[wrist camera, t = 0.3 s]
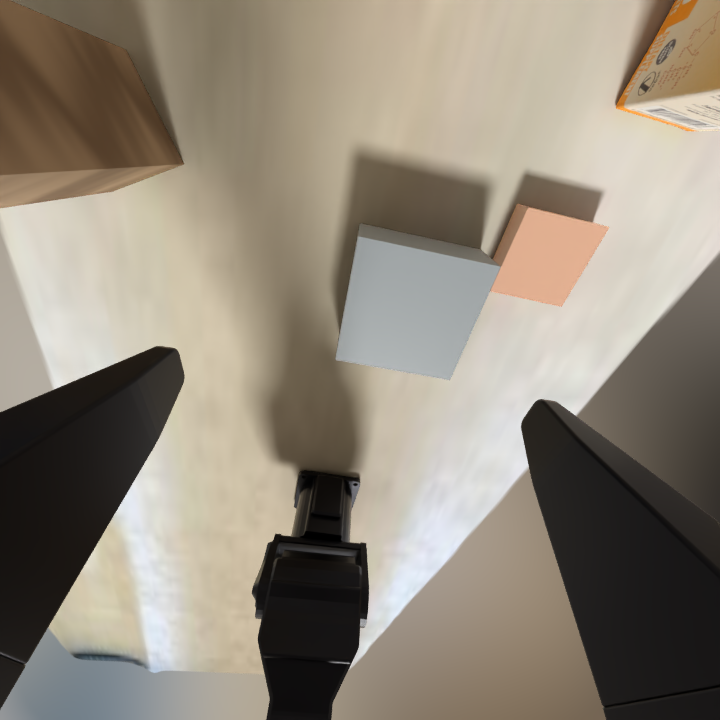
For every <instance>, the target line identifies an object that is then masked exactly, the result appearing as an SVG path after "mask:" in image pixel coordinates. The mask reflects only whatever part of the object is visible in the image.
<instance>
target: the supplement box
mask: <svg viewBox="0 0 720 720" xmlns="http://www.w3.org/2000/svg"><path fill="white" fill-rule="evenodd" d="M616 108H617V109H620V110H623V111H627V112H630V113H633V114H636V115H640V116H643V117H647V118H650V119H653V120H657V121H660V122H663V123H666V124H670V125H672V126H676V127H678V128H681V129H684V130H686V131H718V130H720V0H676V1H675V2H674V4H673V6H672V8H671V10H670V12H669V13H668V15H667V17H666V19H665V21H664V23H663V24H662V26H661V28H660V30H659V32H658V33H657V35H656V37H655V39H654V41H653V42H652V44H651V45H650V47H649V49H648V51H647V53H646V54H645V56H644V57H643V59H642V61H641V63H640V65H639V66H638V68H637V69H636V71H635V73H634V75H633V76H632V78H631V80H630V82H629V83H628V85H627V87H626V88H625V90H624V92H623V94H622V96H621V98H620V99H619V101H618V103H617V105H616Z"/></svg>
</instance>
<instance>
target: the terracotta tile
mask: <svg viewBox="0 0 720 720" xmlns="http://www.w3.org/2000/svg"><path fill="white" fill-rule="evenodd" d="M608 229H609V227H607V226H604V225H600V224H597V223H594V222H590V221H586V220H581V219H577V218H573V217H569V216H565V215H561V214H557V213H553V212H549V211H545V210H541V209H536V208H532V207H528V206H524V205H520V204H517V205H516V207H515V209H514V212H513V214H512V216H511V218H510V221H509V223H508V225H507V228H506V230H505V232H504V234H503V237H502V239H501V241H500V244H499V246H498V248H497V251H496V253H495V255H494V257H493V260H494V261H495V262H496V263H497V264H498V265H499V266H501V267H500V270H499V272H498V274H497V276H496V279H495V281H494V283H493V285H492V287H491V290H490V291H491V292H496V293H501V294H505V295H510V296H515V297H519V298H524V299H528V300H533V301H538V302H542V303H547V304H552V305H556V306H561V307H562V305H563V303H564V302H565V300H566V298H567V297H568V295H569V294H570V292H571V290H572V289H573V287H574V285H575V284H576V282H577V280H578V279H579V277H580V275H581V274H582V272H583V270H584V269H585V267H586V265H587V264H588V262H589V260H590V259H591V257H592V255H593V254H594V252H595V250H596V249H597V247H598V245H599V244H600V242H601V241H602V239H603V237H604V236H605V234H606V232H607V231H608Z"/></svg>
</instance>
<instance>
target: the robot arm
mask: <svg viewBox="0 0 720 720" xmlns="http://www.w3.org/2000/svg"><path fill="white" fill-rule="evenodd" d="M183 383H184V371H183V367H182V363H181V359H180V355H179V352H178V351H177V349H175V348H171V347H164V346H156V347H154V348H151V349H149V350H147V351H144V352H142V353H139V354H137V355H135V356H132V357H130V358H128V359H125V360H123V361H121V362H118V363H116V364H113V365H111V366H109V367H106V368H104V369H102V370H99V371H97V372H95V373H92V374H90V375H87V376H85V377H83V378H80V379H78V380H76V381H73V382H71V383H69V384H66V385H64V386H61V387H59V388H57V389H54V390H52V391H50V392H47V393H45V394H43V395H40V396H38V397H35V398H33V399H31V400H28V401H26V402H24V403H21V404H19V405H17V406H15V407H12V408H9V409H7V410H5V411H3V412H0V709H1V707H2V706H3V704H4V702H5V700H6V699H7V697H8V695H9V694H10V692H11V690H12V688H13V687H14V685H15V683H16V682H17V680H18V678H19V677H20V675H21V673H22V671H23V670H24V668H25V664H26V663H27V662H28V661H29V659H30V657H31V655H32V654H33V652H34V650H35V649H36V647H37V645H38V644H39V642H40V640H41V638H42V637H43V635H44V633H45V632H46V630H47V628H48V627H49V625H50V623H51V621H52V620H53V618H54V616H55V615H56V613H57V611H58V610H59V608H60V606H61V604H62V603H63V601H64V599H65V598H66V596H67V594H68V592H69V591H70V589H71V587H72V586H73V584H74V582H75V581H76V579H77V577H78V575H79V574H80V572H81V570H82V569H83V567H84V565H85V564H86V562H87V560H88V558H89V557H90V555H91V553H92V552H93V550H94V548H95V546H96V545H97V543H98V541H99V540H100V538H101V536H102V535H103V533H104V531H105V529H106V528H107V526H108V524H109V523H110V521H111V519H112V518H113V516H114V514H115V512H116V511H117V509H118V507H119V506H120V504H121V502H122V501H123V499H124V497H125V495H126V494H127V492H128V490H129V489H130V487H131V485H132V483H133V482H134V480H135V478H136V477H137V475H138V473H139V472H140V470H141V468H142V466H143V465H144V463H145V461H146V460H147V458H148V456H149V455H150V453H151V451H152V449H153V448H154V446H155V444H156V442H157V441H158V439H159V437H160V435H161V433H162V431H163V428H164V426H165V424H166V422H167V419H168V417H169V415H170V413H171V410H172V408H173V406H174V403H175V401H176V399H177V397H178V394H179V392H180V390H181V388H182V385H183ZM521 430H522V435H523V440H524V445H525V450H526V455H527V459H528V464H529V469H530V474H531V479H532V483H533V486H534V490H535V493H536V497H537V499H538V503H539V506H540V509H541V512H542V516H543V519H544V522H545V525H546V528H547V531H548V535H549V538H550V541H551V544H552V547H553V550H554V554H555V557H556V560H557V563H558V566H559V570H560V573H561V576H562V579H563V582H564V586H565V589H566V592H567V595H568V598H569V601H570V605H571V608H572V611H573V614H574V617H575V621H576V623H577V627H578V630H579V633H580V636H581V640H582V642H583V646H584V649H585V652H586V655H587V659H588V662H589V665H590V668H591V671H592V675H593V677H594V681H595V684H596V687H597V690H598V694H599V697H600V700H601V703H602V705H603V706H604V707H603V710H604V713H605V717H606V720H720V524H719V523H718V521H717V520H715V519H714V518H713V517H711V516H710V515H709V514H707V513H706V512H704V511H703V510H702V509H700V508H699V507H698V506H697V505H695V504H694V503H693V502H691V501H690V500H688V499H687V498H686V497H684V496H683V495H682V494H680V493H679V492H678V491H676V490H675V489H674V488H672V487H671V486H670V485H668V484H667V483H666V482H664V481H663V480H661V479H660V478H659V477H657V476H656V475H655V474H653V473H652V472H651V471H649V470H648V469H647V468H645V467H644V466H642V465H641V464H640V463H638V462H637V461H636V460H634V459H633V458H632V457H630V456H629V455H628V454H626V453H625V452H624V451H622V450H621V449H620V448H618V447H617V446H615V445H614V444H613V443H611V442H610V441H609V440H607V439H606V438H605V437H603V436H602V435H601V434H599V433H598V432H596V431H595V430H594V429H592V428H591V427H590V426H588V425H587V424H586V423H584V422H583V421H582V420H580V419H579V418H578V417H576V416H575V415H574V414H572V413H571V412H570V411H568V410H567V409H566V408H564V407H563V406H561V405H560V404H559V403H557V402H555V401H551V400H544V399H540V400H537V401H536V402H535V403H534V404H533V406H532V407H531V409H530V410H529V411H528V413H527V414H526V416H525V417H524V419H523V421H522V424H521ZM359 487H360V480H359V479H357V478H350V477H343V476H337V475H330V474H324V473H317V472H310V471H301V472H300V474H299V479H298V485H297V492H296V498H295V504H294V507H295V508H296V509H297V510H296V515H295V520H294V525H293V530H292V535H291V536H283V535H281V534H275V537H274V540H273V541H272V542H270V543H268V545H267V549H266V553H265V556H264V560H263V563H262V566H261V568H260V571H259V573H258V576H257V578H256V581H255V583H254V586H253V590H252V595H253V597H254V598H255V600H256V603H255V607H256V614H255V617H256V619H262V620H261V625H260V630H259V634H258V644H259V649H260V654H261V659H262V664H263V668H264V673H265V677H266V683H267V687H268V692H269V696H270V703H269V707H268V713H267V719H266V720H331V715H332V704H333V700H334V699H335V697H336V694H337V692H338V690H339V688H340V686H341V684H342V682H343V680H344V677H345V675H346V673H347V671H348V669H349V667H350V665H351V663H352V661H353V659H354V657H355V655H356V653H357V650H358V648H359V636H360V627H361V628H364V627H365V625H366V621H367V614H368V601H369V581H368V565H367V549H366V543H350V525H351V510H352V507H353V504H354V502H355V499H356V496H357V493H358V490H359Z"/></svg>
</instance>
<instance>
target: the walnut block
mask: <svg viewBox="0 0 720 720" xmlns="http://www.w3.org/2000/svg"><path fill="white" fill-rule="evenodd" d="M183 164H184V163H183V161H182V159H181V157H180V155H179V154H178V152H177V150H176V148H175V146H174V144H173V142H172V140H171V138H170V136H169V134H168V132H167V130H166V128H165V126H164V124H163V122H162V120H161V118H160V116H159V114H158V112H157V110H156V108H155V106H154V104H153V102H152V100H151V98H150V96H149V94H148V92H147V90H146V88H145V86H144V84H143V82H142V80H141V78H140V76H139V75H138V73H137V71H136V69H135V67H134V65H133V63H132V61H131V59H130V57H129V55H128V53H127V51H126V50H125V49H123V48H120V47H118V46H116V45H113V44H111V43H109V42H106V41H104V40H102V39H99V38H97V37H94V36H92V35H90V34H87V33H85V32H83V31H80V30H78V29H76V28H73V27H71V26H69V25H66V24H64V23H62V22H59V21H57V20H55V19H52V18H50V17H48V16H45V15H43V14H41V13H38V12H36V11H33V10H31V9H29V8H26V7H24V6H22V5H19V4H17V3H15V2H12V1H10V0H0V208H5V207H12V206H18V205H25V204H32V203H38V202H45V201H52V200H58V199H65V198H72V197H78V196H85V195H92V194H99V193H105V192H112V191H115V190H118V189H120V188H123V187H125V186H128V185H131V184H133V183H136V182H139V181H141V180H144V179H146V178H149V177H152V176H154V175H157V174H160V173H162V172H165V171H167V170H170V169H173V168H175V167H178V166H181V165H183Z"/></svg>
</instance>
